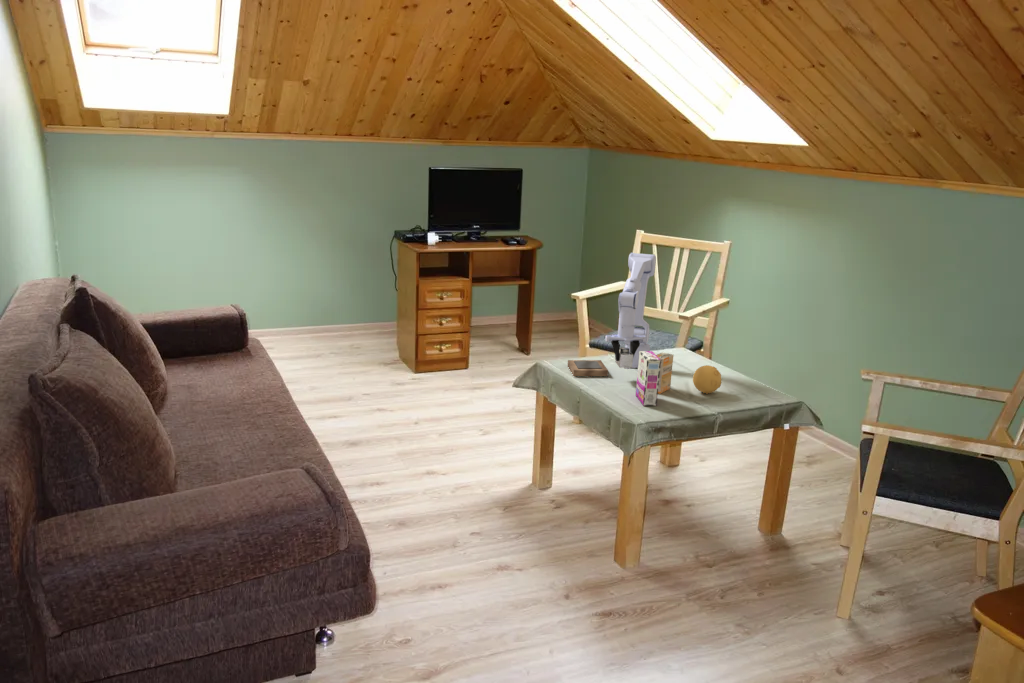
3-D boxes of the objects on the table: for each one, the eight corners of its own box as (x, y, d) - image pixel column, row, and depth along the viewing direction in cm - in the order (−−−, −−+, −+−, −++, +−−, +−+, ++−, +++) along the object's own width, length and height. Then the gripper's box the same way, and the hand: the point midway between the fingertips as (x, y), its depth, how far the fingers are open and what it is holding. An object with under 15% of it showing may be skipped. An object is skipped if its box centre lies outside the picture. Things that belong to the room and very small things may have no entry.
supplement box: (660, 394, 280) (663, 359, 276) (648, 391, 282) (651, 356, 279) (671, 389, 286) (674, 354, 282) (658, 386, 289) (662, 351, 285)
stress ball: (690, 396, 282) (707, 385, 274) (684, 371, 286) (701, 359, 278) (712, 398, 286) (730, 387, 278) (706, 373, 290) (724, 361, 282)
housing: (626, 361, 296) (627, 345, 295) (632, 368, 288) (634, 352, 286) (614, 361, 296) (615, 345, 294) (620, 368, 287) (621, 352, 285)
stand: (600, 366, 310) (600, 359, 309) (607, 376, 297) (608, 369, 297) (567, 366, 308) (567, 359, 308) (573, 376, 296) (573, 369, 295)
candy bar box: (657, 406, 268) (661, 359, 263) (643, 406, 267) (646, 359, 263) (649, 395, 278) (652, 350, 274) (635, 395, 278) (638, 350, 273)
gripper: (609, 327, 283) (606, 363, 287) (649, 327, 285) (646, 363, 288) (605, 322, 290) (602, 357, 294) (643, 322, 291) (641, 357, 295)
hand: (623, 360), depth 291 cm, fingers closed on housing, 5 cm apart
